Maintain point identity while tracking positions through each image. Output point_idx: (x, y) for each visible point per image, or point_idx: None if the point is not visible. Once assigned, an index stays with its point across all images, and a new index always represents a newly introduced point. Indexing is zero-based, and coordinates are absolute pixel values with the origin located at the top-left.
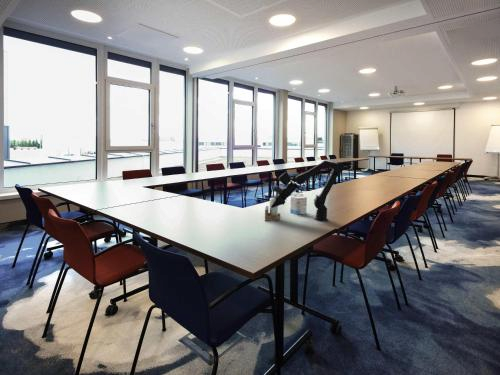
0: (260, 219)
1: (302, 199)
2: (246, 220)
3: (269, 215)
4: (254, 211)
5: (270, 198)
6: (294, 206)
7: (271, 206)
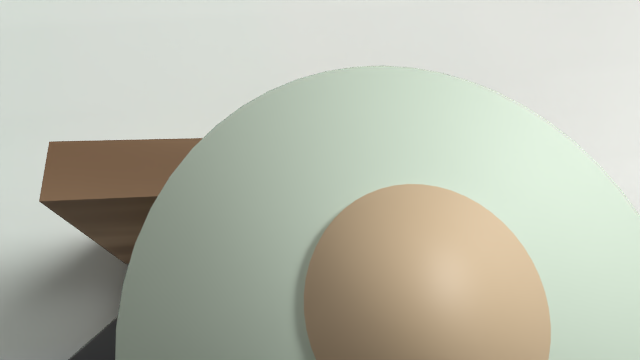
0: None
1: None
2: (134, 5)
3: None
4: (599, 53)
5: (335, 102)
6: None
7: None
